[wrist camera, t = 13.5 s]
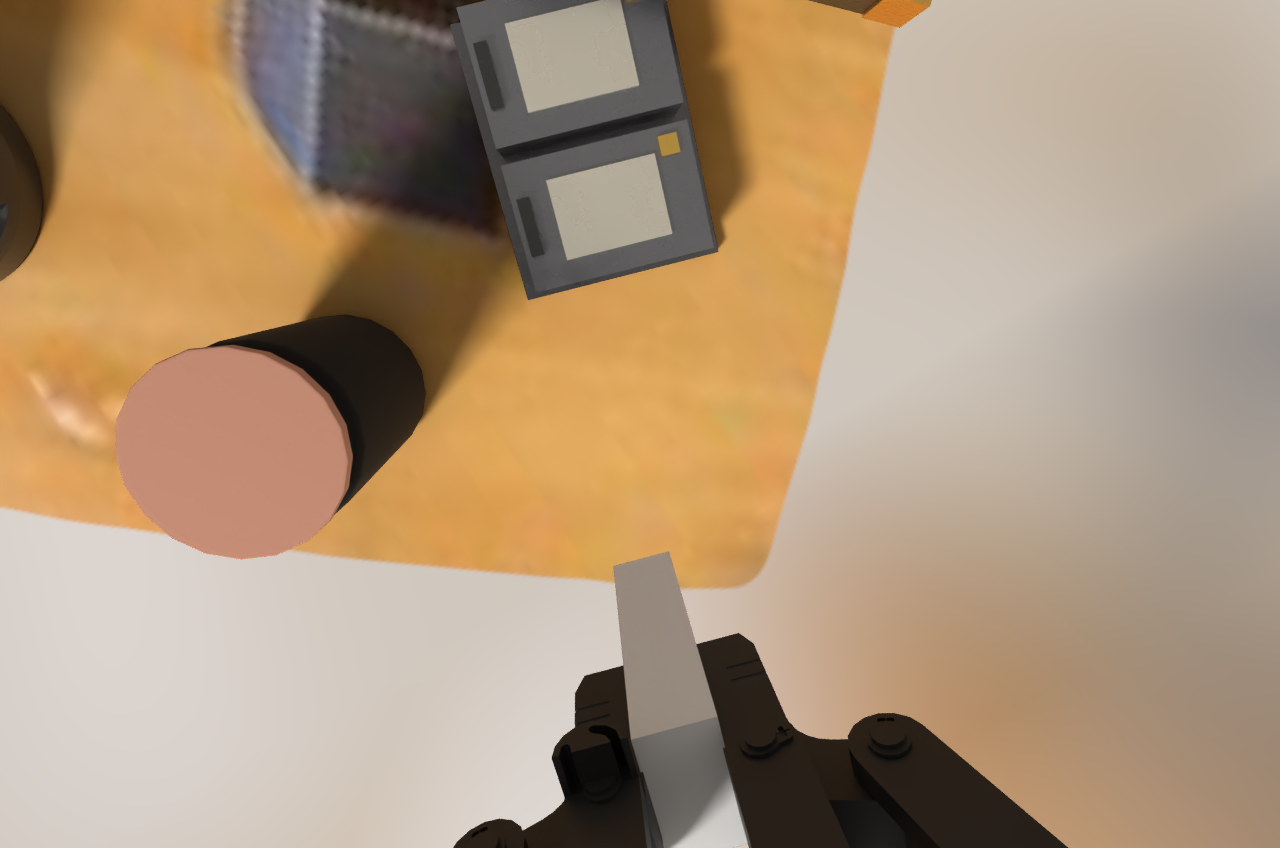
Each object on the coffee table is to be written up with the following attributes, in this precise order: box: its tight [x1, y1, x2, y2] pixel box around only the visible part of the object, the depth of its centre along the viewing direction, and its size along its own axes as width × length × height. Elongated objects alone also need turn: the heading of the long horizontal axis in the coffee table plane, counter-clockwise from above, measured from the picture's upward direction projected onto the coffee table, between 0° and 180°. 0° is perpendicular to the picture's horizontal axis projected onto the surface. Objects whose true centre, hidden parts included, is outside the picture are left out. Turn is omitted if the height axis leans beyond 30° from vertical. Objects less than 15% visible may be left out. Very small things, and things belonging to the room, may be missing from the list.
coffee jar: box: [115, 315, 425, 559], centre depth 41 cm, size 11×11×18 cm
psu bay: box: [450, 0, 718, 300], centre depth 45 cm, size 14×18×6 cm
